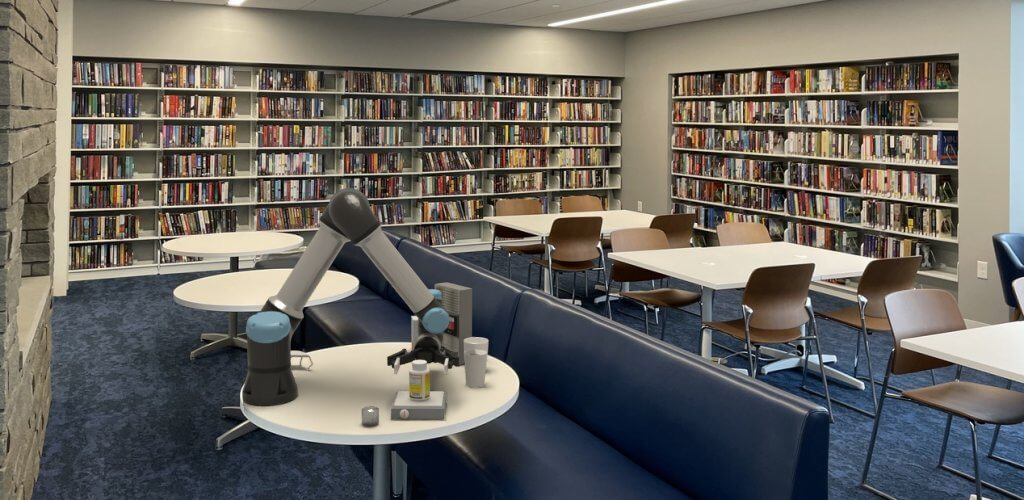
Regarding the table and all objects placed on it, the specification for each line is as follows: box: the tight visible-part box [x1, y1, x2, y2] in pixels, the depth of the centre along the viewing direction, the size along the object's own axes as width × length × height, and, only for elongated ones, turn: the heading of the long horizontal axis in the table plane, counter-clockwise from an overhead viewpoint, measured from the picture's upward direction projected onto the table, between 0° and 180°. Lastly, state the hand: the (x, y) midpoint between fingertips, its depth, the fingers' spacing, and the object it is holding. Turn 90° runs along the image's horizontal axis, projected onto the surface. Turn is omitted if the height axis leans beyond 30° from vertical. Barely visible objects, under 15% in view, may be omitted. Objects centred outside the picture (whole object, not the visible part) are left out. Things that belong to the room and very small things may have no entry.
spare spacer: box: [361, 405, 380, 428], centre depth 204 cm, size 4×4×4 cm
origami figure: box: [291, 350, 314, 372], centre depth 251 cm, size 12×8×5 cm
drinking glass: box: [464, 349, 487, 389], centre depth 237 cm, size 7×7×10 cm
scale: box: [390, 390, 447, 421], centre depth 214 cm, size 14×13×4 cm
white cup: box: [464, 336, 489, 372], centre depth 251 cm, size 8×8×10 cm
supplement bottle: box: [408, 360, 431, 401], centre depth 213 cm, size 6×6×10 cm
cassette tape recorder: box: [434, 281, 473, 367], centre depth 261 cm, size 14×6×25 cm, turn 42°
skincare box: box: [410, 315, 418, 351], centre depth 272 cm, size 6×4×12 cm
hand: (420, 369), depth 214 cm, fingers open, 13 cm apart
